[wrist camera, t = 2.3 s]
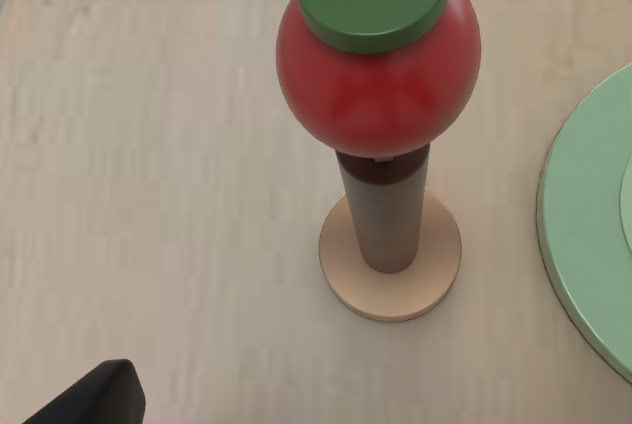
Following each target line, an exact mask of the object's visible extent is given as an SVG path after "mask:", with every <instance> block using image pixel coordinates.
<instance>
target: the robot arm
mask: <svg viewBox="0 0 632 424" xmlns="http://www.w3.org/2000/svg"><path fill="white" fill-rule="evenodd" d="M145 406H146V401H145V395H144V392H143V389H142V387H141V384H140V381H139V379H138V376H137V373H136V370H135V368H134V365H133V363H132V362H131V361H130V360H128V359H117V360H107V361H104V362H102V363H101V364H99V365H98V366H97V367H95V368H94V369H93V370H92V371H90V372H89V373H88V374H86V375H85V376H84V377H82V378H81V379H80V380H78V381H77V382H76V383H75V384H73V385H72V386H71V387H69V388H68V389H67V390H65V391H64V392H63V393H61V394H60V395H59V396H58V397H56V398H55V399H54V400H52V401H51V402H50V403H48V404H47V405H46V406H44V407H43V408H42V409H41V410H39V411H38V412H37V413H35V414H34V415H33V416H31V417H30V418H29V419H27V420H26V421H25V422H23V423H22V424H142V422H143V418H144V413H145Z"/></svg>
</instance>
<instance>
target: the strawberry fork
mask: <svg viewBox="0 0 632 424" xmlns="http://www.w3.org/2000/svg"><path fill="white" fill-rule="evenodd" d="M480 61H481V38H480V29H479V24H478V21H477V17H476V14H475V11H474V8H473V6H472V4H471V2H470V0H290V2H289V4H288V6H287V8H286V10H285V12H284V14H283V17H282V20H281V23H280V26H279V31H278V37H277V42H276V68H277V75H278V79H279V83H280V87H281V90H282V93H283V95H284V98H285V100H286V102H287V104H288V106H289V108H290V110H291V111H292V113H293V114H294V116H295V117H296V119H297V120H298V121H299V122H300V123H301V124H302V126H303V127H304V128H305V129H306V130H307V131H308V132H309V133H310V134H311V135H313V136H314V137H315V138H316V139H318V140H319V141H321V142H322V143H324V144H325V145H327V146H329V147H331V148H333V149H335V151H336V156H337V160H338V164H339V168H340V171H341V175H342V179H343V183H344V187H345V191H346V196H344V197H343V198H342V199H341V200H340V201H339V202H338V203H337V204H336V205H335V206H334V207H333V209H332V210H331V211H330V213H329V215H328V216H327V218H326V220H325V222H324V225H323V227H322V231H321V234H320V240H319V258H320V264H321V267H322V271H323V273H324V275H325V278H326V280H327V282H328V283H329V285H330V287H331V288H332V290H333V292H334V293H335V294H336V296H337V297H338V298H339V299H340V300H341V301H342V302H343V303H344V304H345V305H346V306H347V307H348V308H350V309H351V310H353V311H354V312H356V313H358V314H360V315H362V316H364V317H367V318H369V319H373V320H377V321H384V322H398V321H405V320H409V319H413V318H416V317H418V316H420V315H422V314H424V313H426V312H428V311H429V310H431V309H432V308H433V307H435V306H436V305H437V304H438V303H439V302H440V301H441V300H442V299H443V298H444V297H445V295H446V294H447V292H448V291H449V289H450V287H451V285H452V283H453V281H454V279H455V277H456V275H457V272H458V269H459V265H460V260H461V250H462V248H461V238H460V234H459V230H458V227H457V224H456V222H455V220H454V218H453V216H452V214H451V213H450V212H449V210H448V209H447V207H446V206H445V205H444V204H443V203H442V202H441V201H440V200H439V199H438V198H437V197H435V196H434V195H433V194H431V193H430V192H428V191H427V190H425V183H426V175H427V167H428V159H429V151H430V142H431V141H433V140H434V139H435V138H437V137H438V136H439V135H441V134H442V133H443V132H444V131H446V130H447V129H448V127H449V126H450V125H451V124H452V123H453V122H454V121H455V120H456V119H457V117H458V116H459V115H460V113H461V112H462V110H463V109H464V108H465V106H466V104H467V102H468V100H469V99H470V97H471V94H472V92H473V89H474V86H475V83H476V81H477V78H478V73H479V68H480Z"/></svg>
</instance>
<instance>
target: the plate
mask: <svg viewBox="0 0 632 424" xmlns="http://www.w3.org/2000/svg"><path fill="white" fill-rule="evenodd" d="M537 227H538V235H539V243H540V248H541V251H542V255H543V259H544V262H545V266H546V270H547V272H548V275H549V277H550V279H551V282H552V284H553V286H554V289H555V291H556V294H557V296H558V297H559V299H560V301H561V303H562V304H563V306H564V308H565V309H566V311H567V313H568V315H569V316H570V318H571V320H572V321H573V322H574V324H575V325H576V326H577V328H578V329H579V330H580V332H581V333H582V334H583V336H584V337H585V338H586V340H587V341H588V342H589V344H590V345H591V346H592V347H593V348H594V349H595V350H596V351H597V352H598V353H599V354H600V355H601V356H602V357H603V358H604V359H605V360H606V361H607V362H608V364H609V365H610V366H612V367H613V368H614V369H615V370H616V371H618V372H619V373H620V374H621V375H622V376H624V377H625V378H626V379H627V380H628V381H629V382H631V383H632V63H630V64H628V65H626V66H625V67H623V68H621V69H620V70H618V71H616V72H615V73H613V74H611V75H610V76H608V77H607V78H606V79H605V80H603V81H602V82H601V83H600V84H598V85H597V86H596V87H595V88H593V89H592V90H591V91H590V92H589V93H588V94H587V95H586V96H585V97H584V99H583V100H582V101H581V102H580V103H579V104H578V105H577V106H576V107H575V109H574V110H573V112H572V113H571V114H570V116H569V117H568V119H567V120H566V121H565V123H564V124H563V126H562V128H561V129H560V131H559V133H558V134H557V136H556V138H555V140H554V142H553V144H552V146H551V148H550V150H549V152H548V154H547V157H546V160H545V164H544V167H543V170H542V173H541V176H540V183H539V189H538V195H537Z"/></svg>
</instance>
